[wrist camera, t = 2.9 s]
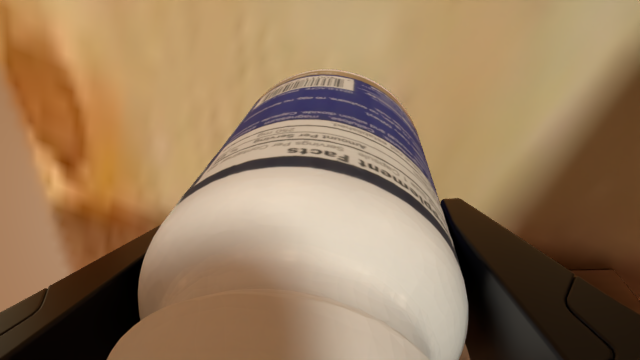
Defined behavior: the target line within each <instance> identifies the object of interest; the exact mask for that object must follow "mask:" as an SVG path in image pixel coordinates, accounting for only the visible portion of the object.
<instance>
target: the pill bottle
mask: <svg viewBox="0 0 640 360" xmlns="http://www.w3.org/2000/svg"><path fill="white" fill-rule="evenodd" d="M138 306H139V316H140V322H138V323H137V324H136V325H134V326H133V327H132V328H131V329H130V330H129V331H128V332H127V333H125V334H124V335H123V336H122V337H121V338H120V340H119V341H118V342H117V344H116V345H115V346H114V348H113V349H112V351H111V352H110V354H109V356H108V358H107V360H459V358H460V356H461V353H462V351H463V348H464V344H465V340H466V335H467V329H468V300H467V294H466V288H465V283H464V279H463V275H462V272H461V269H460V265H459V261H458V257H457V255H456V252H455V248H454V245H453V241H452V238H451V236H450V233H449V230H448V226H447V223H446V220H445V217H444V213H443V210H442V208H441V205H440V202H439V199H438V196H437V192H436V189H435V186H434V183H433V180H432V177H431V174H430V171H429V168H428V164H427V161H426V158H425V155H424V152H423V149H422V146H421V143H420V140H419V137H418V134H417V131H416V129H415V126H414V124H413V122H412V120H411V118H410V116H409V115H408V113H407V111H406V110H405V108H404V107H403V106H402V104H401V103H400V102H399V101H398V100H397V99H396V98H395V97H394V96H393V95H392V94H391V93H390V92H389V91H388V90H387V89H385V88H384V87H382V86H381V85H379V84H378V83H376V82H374V81H372V80H370V79H368V78H366V77H364V76H361V75H358V74H355V73H351V72H347V71H341V70H334V69H321V70H313V71H307V72H303V73H300V74H297V75H294V76H291V77H289V78H287V79H285V80H283V81H281V82H279V83H278V84H276V85H275V86H273V87H272V88H270V89H269V90H268V91H267V92H266V93H265V94H264V95H263V96H262V97H261V98H260V99H259V100H258V101H257V102H256V103H255V104H254V106H253V107H252V109H251V110H250V111H249V112H248V114H247V115H246V116H245V117H244V119H243V120H242V122H241V123H240V124H239V125H238V127H237V128H236V129H235V131H234V132H233V133H232V135H231V136H230V137H229V139H228V140H227V141H226V143H225V144H224V145H223V147H222V148H221V149H220V150H219V152H218V153H217V154H216V156H215V157H214V158H213V159H212V161H211V162H210V163H209V164H208V165H207V167H206V168H205V169H204V171H203V172H202V173H201V174H200V176H199V177H198V178H197V180H196V181H195V182H194V183H193V185H192V186H191V187H190V188H189V189H188V191H187V192H186V193H185V194H184V195H183V196H182V198H181V199H180V200H179V202H178V203H177V205H176V206H175V207H174V209H173V210H172V211H171V213H170V214H169V215H168V217H167V218H166V219H165V220H164V222H163V223H162V224H161V226H160V228H159V229H158V231H157V232H156V234H155V235H154V237H153V239H152V241H151V243H150V245H149V248H148V250H147V252H146V254H145V257H144V260H143V263H142V268H141V272H140V277H139V284H138Z"/></svg>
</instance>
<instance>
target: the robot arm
mask: <svg viewBox="0 0 640 360" xmlns="http://www.w3.org/2000/svg"><path fill="white" fill-rule="evenodd" d="M440 205H441V208H442V210H443V213H444V217H445V220H446V223H447V226H448V230H449V233H450V236H451V238H452V241H453V245H454V248H455V252H456V255H457V257H458V261H459V265H460V269H461V272H462V275H463V279H464V283H465V288H466V294H467V300H468V329H467V335H466V340H465V344H466V347H467V350H468V353H469V357H470V360H640V314H639V313H637V312H635V311H633V310H632V309H630V308H628V307H626V306H625V305H623V304H621V303H620V302H618V301H617V300H615V299H613V298H612V297H610V296H609V295H607V294H606V293H604V292H602V291H601V290H599V289H598V288H596V287H594V286H593V285H591V284H590V283H588V282H587V281H585V280H584V279H582V278H581V277H579V276H576V277H575V274H574V273H573V272H571V271H570V270H568V269H567V268H565V267H564V266H562V265H561V264H559V263H558V262H556V261H555V260H553V259H552V258H550V257H548V256H547V255H545V254H544V253H542V252H541V251H539V250H538V249H536V248H535V247H533V246H532V245H530V244H529V243H527V242H526V241H524V240H523V239H521V238H520V237H518V236H516V235H515V234H513V233H512V232H510V231H509V230H507V229H506V228H504V227H503V226H501V225H500V224H498V223H497V222H495V221H494V220H492V219H491V218H489V217H488V216H486V215H485V214H483V213H481V212H480V211H478V210H477V209H475V208H474V207H472V206H471V205H469V204H468V203H466V202H465V201H463V200H462V199H459V198H454V199H443V200H442V201H441V204H440ZM160 226H161V225H160ZM160 226H158V227H156V228H154V229H152V230H150V231H149V232H147V233H145V234H143V235H141V236H140V237H138V238H136V239H134V240H132V241H130V242H129V243H127V244H125V245H123V246H121V247H120V248H118V249H116V250H114V251H112V252H110V253H109V254H107V255H105V256H103V257H101V258H100V259H98V260H96V261H94V262H92V263H90V264H89V265H87V266H85V267H83V268H81V269H80V270H78V271H76V272H74V273H72V274H70V275H69V276H67V277H65V278H63V279H61V280H60V281H58V282H56V283H54V284H53V285H50V286H49V288H48V289H46V288H45V289H43V290H41V291H39V292H38V293H36V294H34V295H32V296H30V297H28V298H27V299H25V300H23V301H21V302H19V303H17V304H16V305H14V306H12V307H10V308H8V309H6V310H4V311H2V312H0V360H107V358H108V356H109V354H110V352H111V351H112V349H113V348H114V346H115V345H116V344H117V342H118V341H119V340H120V338H121V337H122V336H123V335H124V334H125V333H127V332H128V331H129V330H130V329H131V328H132V327H133V326H134V325H136V324H137V323H138V322H140V316H139V306H138V284H139V277H140V272H141V268H142V263H143V260H144V257H145V254H146V252H147V250H148V248H149V245H150V243H151V241H152V239H153V237H154V235H155V234H156V232H157V231H158V229H159V228H160Z"/></svg>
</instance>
